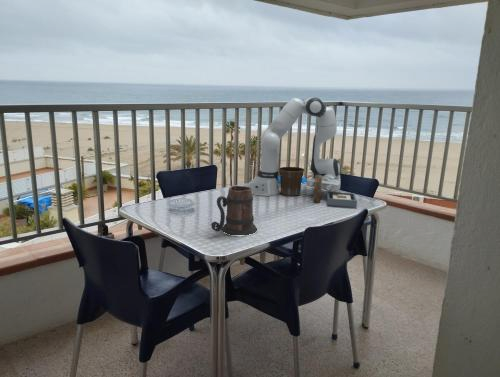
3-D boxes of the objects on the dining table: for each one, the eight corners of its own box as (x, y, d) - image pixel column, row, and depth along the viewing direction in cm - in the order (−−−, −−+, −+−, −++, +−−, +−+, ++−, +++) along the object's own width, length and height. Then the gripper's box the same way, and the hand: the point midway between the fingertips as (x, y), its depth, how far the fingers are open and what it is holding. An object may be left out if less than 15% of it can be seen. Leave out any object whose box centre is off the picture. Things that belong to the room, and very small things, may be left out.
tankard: (242, 221, 180) (243, 181, 174) (265, 231, 167) (266, 189, 162) (202, 231, 165) (201, 189, 160) (223, 243, 153) (223, 197, 147)
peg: (313, 202, 212) (314, 176, 208) (313, 200, 215) (315, 174, 211) (320, 203, 211) (321, 176, 207) (320, 201, 215) (322, 175, 211)
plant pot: (277, 190, 239) (278, 166, 235) (301, 190, 238) (303, 166, 234) (278, 196, 223) (279, 171, 219) (304, 197, 223) (305, 171, 218)
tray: (327, 206, 205) (327, 198, 204) (327, 198, 221) (327, 191, 219) (356, 208, 202) (356, 200, 201) (354, 200, 217) (354, 193, 216)
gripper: (311, 175, 228) (302, 179, 217) (343, 179, 218) (335, 184, 207) (310, 184, 230) (302, 189, 218) (342, 189, 220) (334, 194, 208)
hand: (318, 186), depth 212 cm, fingers open, 8 cm apart
